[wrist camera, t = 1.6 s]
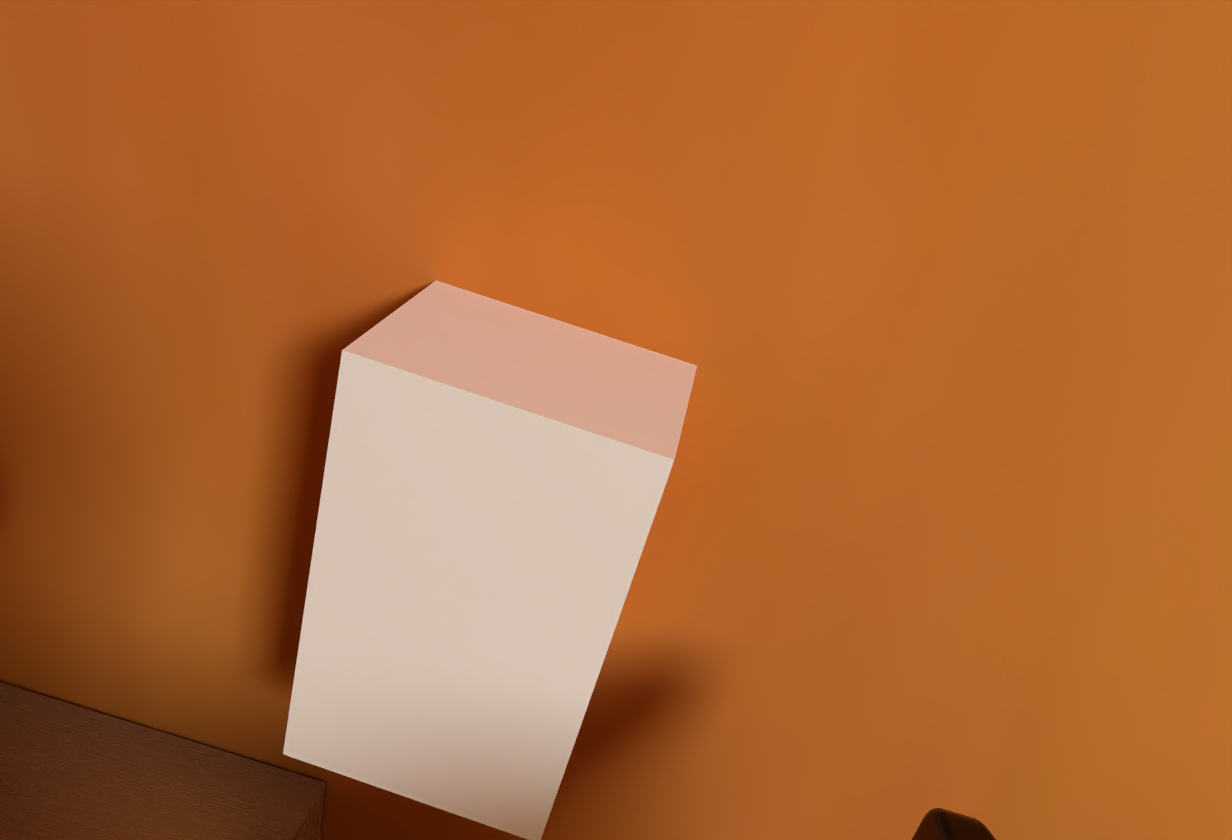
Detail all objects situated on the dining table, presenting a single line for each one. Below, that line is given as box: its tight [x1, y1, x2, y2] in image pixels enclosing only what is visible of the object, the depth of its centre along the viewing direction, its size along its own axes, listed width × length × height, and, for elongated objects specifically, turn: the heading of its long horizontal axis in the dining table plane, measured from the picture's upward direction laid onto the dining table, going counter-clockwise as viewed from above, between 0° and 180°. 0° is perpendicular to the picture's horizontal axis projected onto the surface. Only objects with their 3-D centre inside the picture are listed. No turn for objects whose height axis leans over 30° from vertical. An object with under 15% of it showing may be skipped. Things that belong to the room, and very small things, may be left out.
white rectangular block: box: [283, 281, 697, 840], centre depth 10 cm, size 3×5×2 cm, turn 164°
